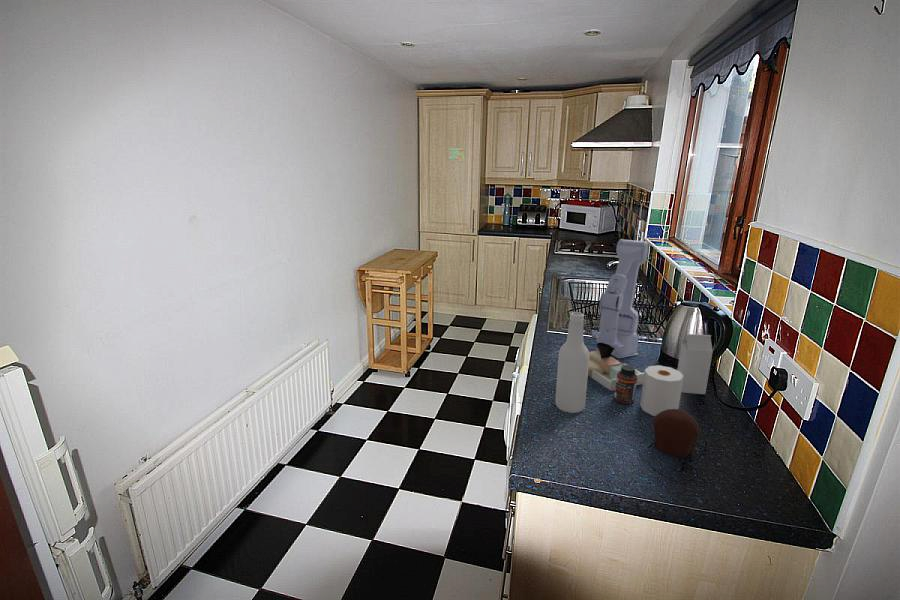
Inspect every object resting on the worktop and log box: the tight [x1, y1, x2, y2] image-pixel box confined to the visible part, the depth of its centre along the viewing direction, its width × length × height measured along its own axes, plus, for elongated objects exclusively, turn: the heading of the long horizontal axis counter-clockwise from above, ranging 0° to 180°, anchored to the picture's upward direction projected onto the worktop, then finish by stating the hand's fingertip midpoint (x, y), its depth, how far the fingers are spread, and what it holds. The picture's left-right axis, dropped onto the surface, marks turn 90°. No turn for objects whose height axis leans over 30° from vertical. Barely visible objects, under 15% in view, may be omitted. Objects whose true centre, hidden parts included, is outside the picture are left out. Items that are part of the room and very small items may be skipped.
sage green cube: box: [609, 365, 622, 380], centre depth 152 cm, size 4×4×3 cm
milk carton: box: [676, 333, 713, 395], centre depth 144 cm, size 7×7×19 cm
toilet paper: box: [639, 364, 684, 417], centre depth 134 cm, size 10×10×12 cm
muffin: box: [652, 408, 702, 458], centre depth 116 cm, size 12×11×10 cm
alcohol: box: [554, 311, 590, 414], centre depth 133 cm, size 9×9×30 cm
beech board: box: [588, 349, 625, 379], centre depth 163 cm, size 14×14×2 cm
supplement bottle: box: [613, 364, 637, 405], centre depth 139 cm, size 6×6×11 cm
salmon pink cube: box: [600, 356, 620, 373], centre depth 156 cm, size 4×4×3 cm
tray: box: [591, 363, 644, 392], centre depth 152 cm, size 14×10×4 cm
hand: (604, 362), depth 158 cm, fingers closed, pressing on salmon pink cube
